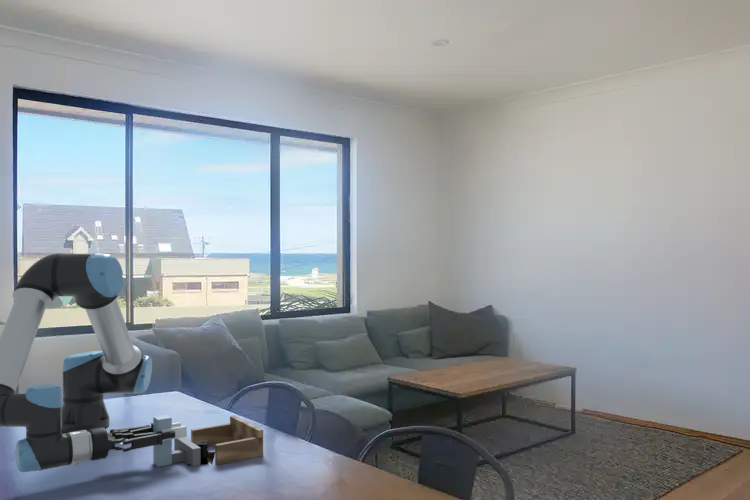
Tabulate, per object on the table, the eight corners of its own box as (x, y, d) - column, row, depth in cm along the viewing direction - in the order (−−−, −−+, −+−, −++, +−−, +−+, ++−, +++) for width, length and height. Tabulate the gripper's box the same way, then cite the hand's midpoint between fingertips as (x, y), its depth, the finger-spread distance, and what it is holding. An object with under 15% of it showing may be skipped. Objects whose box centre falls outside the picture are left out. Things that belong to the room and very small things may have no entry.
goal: (191, 447, 183) (191, 422, 183) (234, 439, 191) (234, 415, 191) (217, 465, 168) (217, 437, 168) (263, 455, 176) (263, 429, 176)
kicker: (147, 458, 174) (147, 412, 174) (181, 451, 179) (181, 408, 179) (164, 472, 162) (164, 424, 162) (200, 465, 168) (200, 418, 168)
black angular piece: (214, 468, 167) (214, 449, 167) (183, 470, 166) (183, 450, 166) (217, 452, 180) (217, 434, 180) (188, 453, 179) (188, 435, 179)
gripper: (80, 452, 165) (172, 436, 179) (97, 470, 152) (194, 451, 166) (80, 422, 165) (172, 408, 179) (97, 437, 152) (194, 421, 166)
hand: (183, 429), depth 172 cm, fingers closed on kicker, 4 cm apart
